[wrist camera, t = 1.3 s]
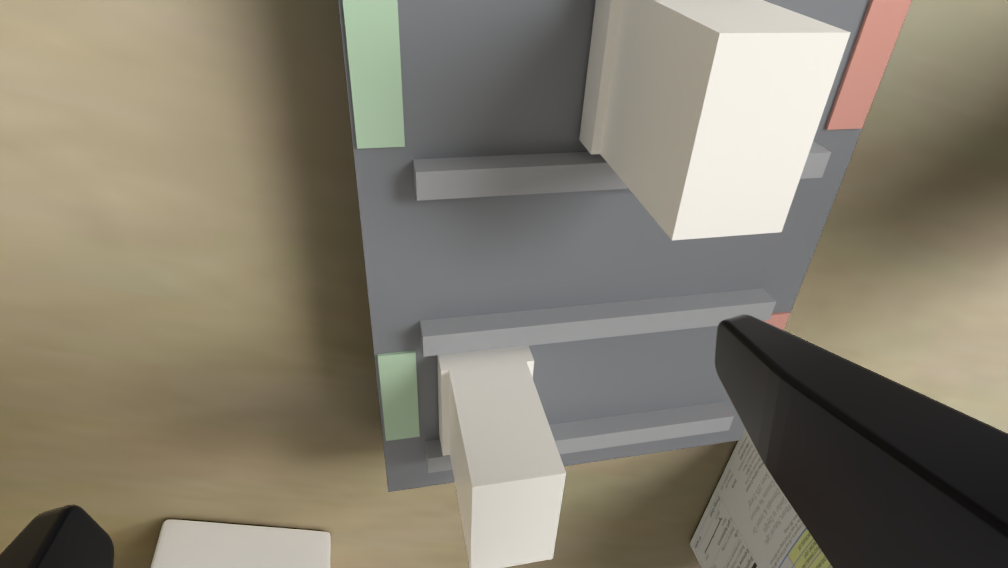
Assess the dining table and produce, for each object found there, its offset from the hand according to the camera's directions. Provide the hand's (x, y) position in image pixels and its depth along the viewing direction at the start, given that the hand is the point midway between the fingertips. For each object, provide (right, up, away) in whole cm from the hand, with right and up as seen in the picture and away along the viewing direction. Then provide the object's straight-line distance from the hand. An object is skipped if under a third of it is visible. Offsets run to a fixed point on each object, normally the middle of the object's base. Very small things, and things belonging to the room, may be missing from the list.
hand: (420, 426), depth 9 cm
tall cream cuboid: (0, -2, +13) cm, 13 cm away
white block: (+5, +8, +7) cm, 12 cm away
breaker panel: (+4, +5, +13) cm, 14 cm away
